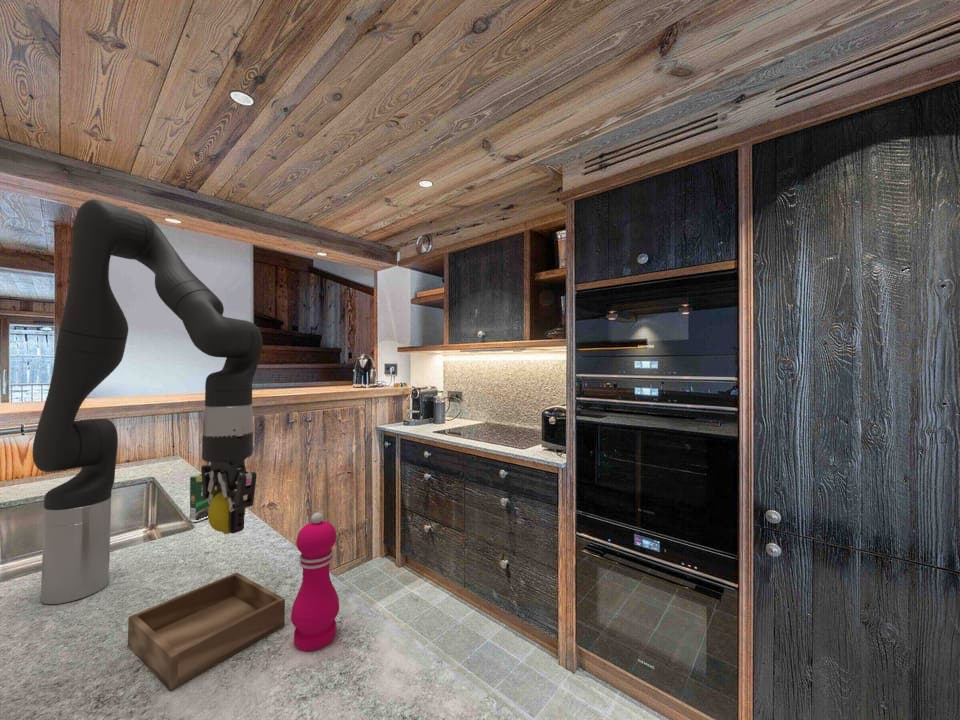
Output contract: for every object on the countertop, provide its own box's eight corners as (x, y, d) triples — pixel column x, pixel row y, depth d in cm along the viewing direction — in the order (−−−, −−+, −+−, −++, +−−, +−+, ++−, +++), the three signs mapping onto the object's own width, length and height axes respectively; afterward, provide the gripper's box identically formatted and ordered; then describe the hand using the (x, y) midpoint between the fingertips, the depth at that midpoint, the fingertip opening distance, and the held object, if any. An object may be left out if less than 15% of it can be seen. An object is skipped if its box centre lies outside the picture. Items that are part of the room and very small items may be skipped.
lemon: (228, 542, 65) (228, 493, 65) (199, 539, 66) (200, 491, 66) (252, 528, 70) (253, 484, 71) (226, 526, 71) (226, 482, 72)
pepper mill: (291, 660, 58) (293, 524, 59) (289, 631, 65) (291, 509, 65) (342, 644, 61) (343, 516, 62) (335, 618, 68) (337, 502, 68)
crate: (127, 645, 61) (128, 616, 61) (236, 596, 75) (236, 572, 75) (170, 691, 52) (171, 657, 53) (284, 625, 66) (284, 598, 66)
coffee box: (194, 523, 110) (195, 476, 110) (188, 522, 111) (189, 475, 111) (223, 514, 117) (224, 470, 117) (216, 512, 118) (217, 469, 119)
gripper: (184, 430, 69) (182, 527, 69) (227, 437, 62) (225, 545, 61) (229, 425, 76) (228, 513, 75) (273, 431, 68) (271, 529, 68)
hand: (226, 527), depth 68 cm, fingers closed on lemon, 5 cm apart
